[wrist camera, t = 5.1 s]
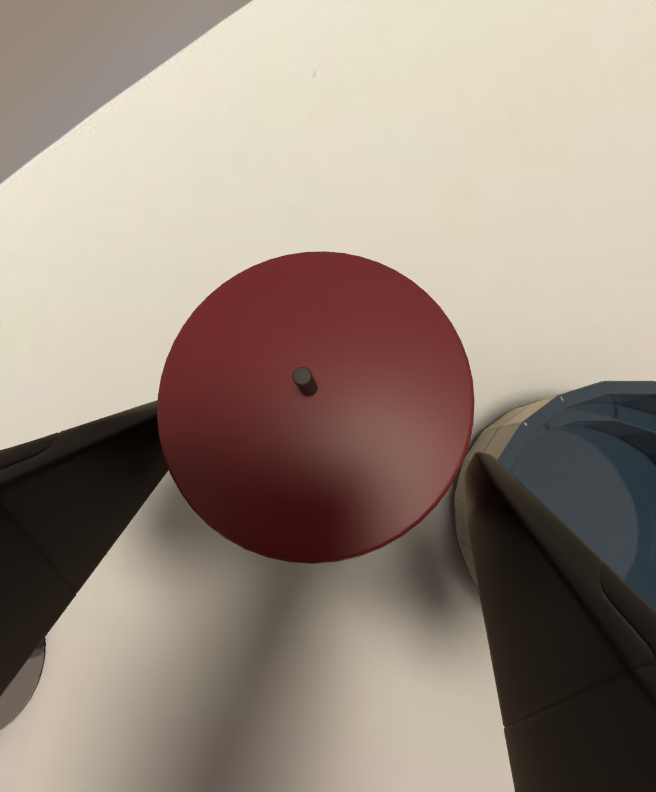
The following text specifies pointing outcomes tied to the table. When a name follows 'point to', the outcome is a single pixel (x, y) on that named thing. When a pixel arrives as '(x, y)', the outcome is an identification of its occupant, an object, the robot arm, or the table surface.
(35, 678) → the wine glass
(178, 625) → the table surface
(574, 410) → the bowl
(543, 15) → the table surface
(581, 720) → the robot arm
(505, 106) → the table surface
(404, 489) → the candle
